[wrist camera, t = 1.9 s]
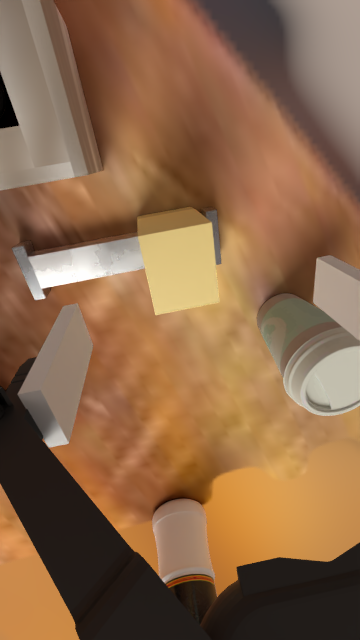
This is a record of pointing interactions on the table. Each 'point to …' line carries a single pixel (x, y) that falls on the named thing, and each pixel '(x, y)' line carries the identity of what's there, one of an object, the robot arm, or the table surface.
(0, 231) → the table surface
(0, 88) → the plunger
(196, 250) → the carriage
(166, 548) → the vodka
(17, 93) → the grey open box
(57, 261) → the rail
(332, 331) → the coffee cup
